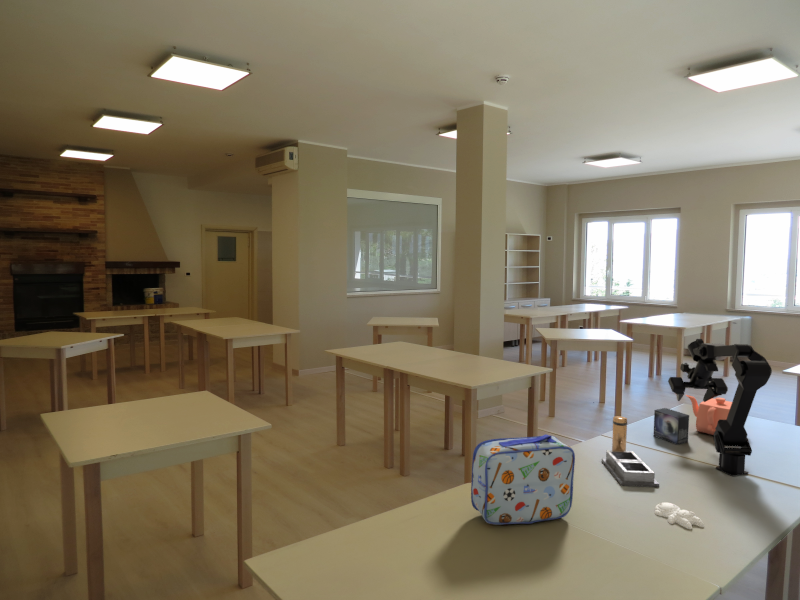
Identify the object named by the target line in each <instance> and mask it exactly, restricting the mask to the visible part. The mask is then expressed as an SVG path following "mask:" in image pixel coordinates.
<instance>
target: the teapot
mask: <svg viewBox="0 0 800 600" xmlns="http://www.w3.org/2000/svg"><path fill="white" fill-rule="evenodd" d="M685 396H686V397H687V398H688V399H689V400H690V402H691V405H692V412H693V415H694V416H695V417H696V419H695V427H696V431H697V432H700V433H704V434H708V435H712V436H714V432H715V431H716V429H715V428H716V427H717V423H718V421H719V420H726V419H727V416H728V413H729V410H730V407H731V404H732V401H729V400H726V398H724V397H714V398H712V399H710V400H708V401H706V402H704V401H703V400H702V401H701V402H700V403H698V401H697V399H696V398H695V396H692V395H688V394H685Z"/></svg>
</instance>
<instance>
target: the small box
mask: <svg viewBox="0 0 800 600" xmlns="http://www.w3.org/2000/svg"><path fill="white" fill-rule="evenodd" d="M689 423H690V414H686V413H684V412H680V411H677V410H673V409H670V408H667V407H664V408H658V409H654V414H653V434H652V435H653V437H656V438H658V439H661V440H663V441H667V442H669V443H671V444H675V445H683V444H687V443H689V426H690V424H689Z"/></svg>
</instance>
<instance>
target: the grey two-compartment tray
mask: <svg viewBox="0 0 800 600" xmlns="http://www.w3.org/2000/svg"><path fill="white" fill-rule="evenodd" d="M601 462H602V464H603V465H604V466H605V467H606V469H607V470H608V472H609V473H611V475H612V476H613V477H614V479H615V480H616V481H617V482H618V484H619V485H620V486H621V487H643V488H644V487H646V488H648V487H649V488H660V483H659V482H658V481H657V479H655V472H654V471H653V469H651V468H650V466H648V465H647V464H646V463H645V461H643V459H642V458H640V457H639V455H637V454H636V453H635V451H633V450H626V451H612V450H606V455H605V458H604V457H602V458H601Z"/></svg>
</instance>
